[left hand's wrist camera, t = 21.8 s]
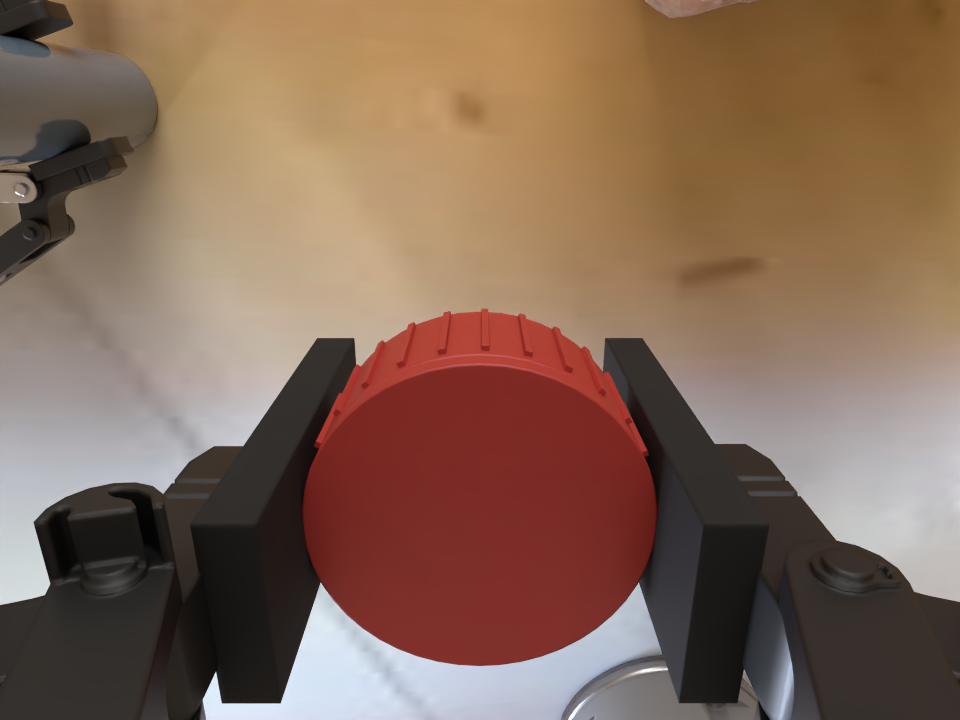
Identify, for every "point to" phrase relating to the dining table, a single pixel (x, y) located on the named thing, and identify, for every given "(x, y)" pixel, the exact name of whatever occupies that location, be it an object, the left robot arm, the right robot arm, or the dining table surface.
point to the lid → (479, 492)
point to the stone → (689, 6)
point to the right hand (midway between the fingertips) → (89, 80)
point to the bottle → (68, 99)
